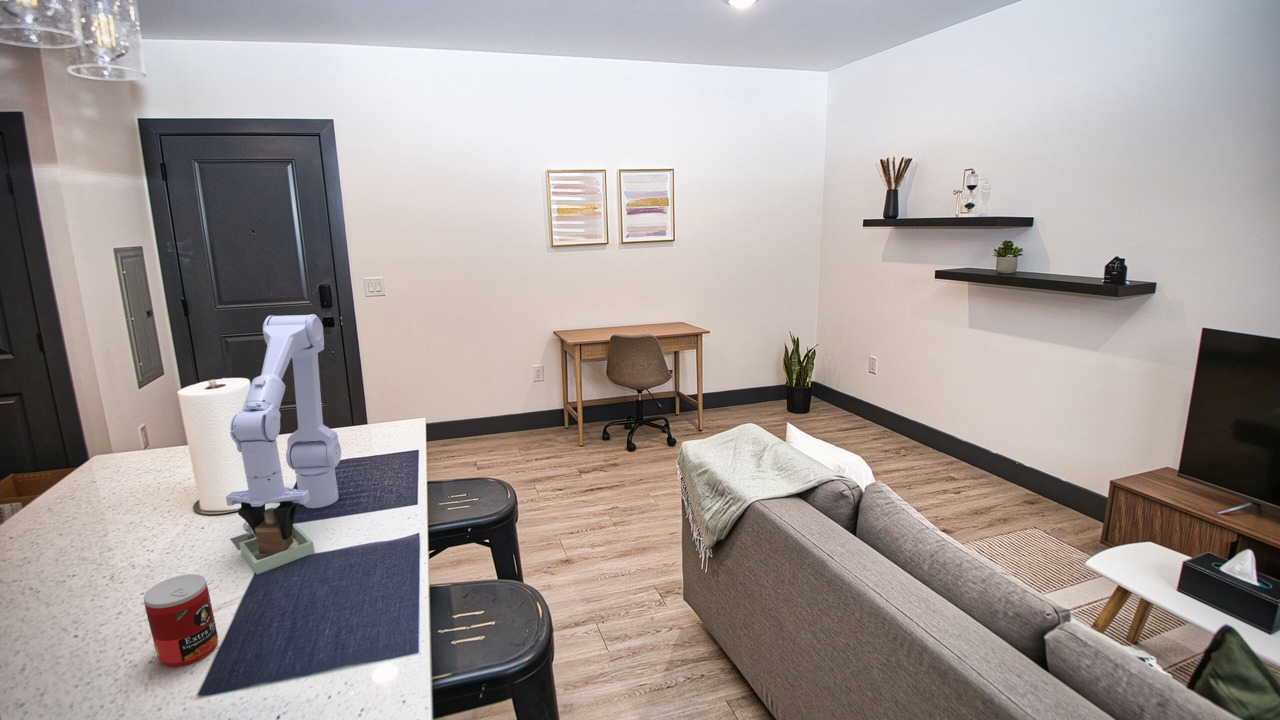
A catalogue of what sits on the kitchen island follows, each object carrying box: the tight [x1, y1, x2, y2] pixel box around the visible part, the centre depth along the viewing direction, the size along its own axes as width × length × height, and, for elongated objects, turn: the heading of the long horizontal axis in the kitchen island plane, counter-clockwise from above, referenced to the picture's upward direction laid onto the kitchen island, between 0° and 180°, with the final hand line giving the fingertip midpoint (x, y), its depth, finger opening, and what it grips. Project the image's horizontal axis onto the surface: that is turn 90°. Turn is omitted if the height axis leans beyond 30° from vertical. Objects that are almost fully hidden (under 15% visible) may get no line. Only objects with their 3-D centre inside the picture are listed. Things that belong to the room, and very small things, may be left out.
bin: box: [239, 523, 315, 575], centre depth 121 cm, size 10×10×4 cm
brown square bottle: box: [255, 507, 294, 555], centre depth 120 cm, size 4×4×8 cm
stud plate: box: [229, 521, 256, 551], centre depth 126 cm, size 6×6×5 cm
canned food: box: [143, 573, 219, 668], centre depth 96 cm, size 8×8×11 cm
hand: (275, 537), depth 121 cm, fingers closed on brown square bottle, 4 cm apart
